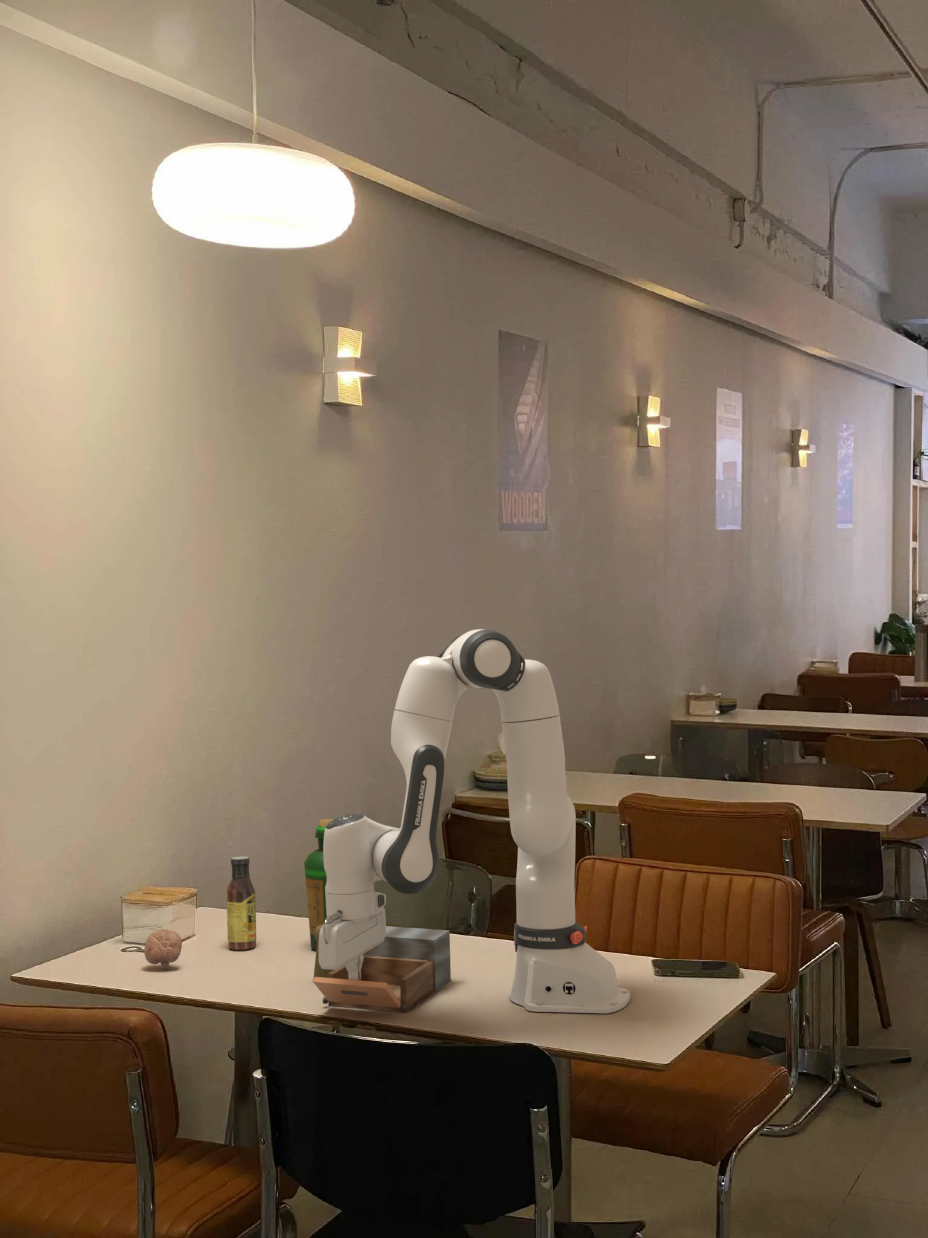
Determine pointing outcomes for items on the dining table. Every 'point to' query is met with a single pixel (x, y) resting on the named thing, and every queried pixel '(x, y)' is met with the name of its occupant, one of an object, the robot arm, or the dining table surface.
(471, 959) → the dining table surface
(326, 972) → the cork
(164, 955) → the brown rounded lump
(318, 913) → the bottle
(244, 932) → the sauce bottle
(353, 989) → the wooden board
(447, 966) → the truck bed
